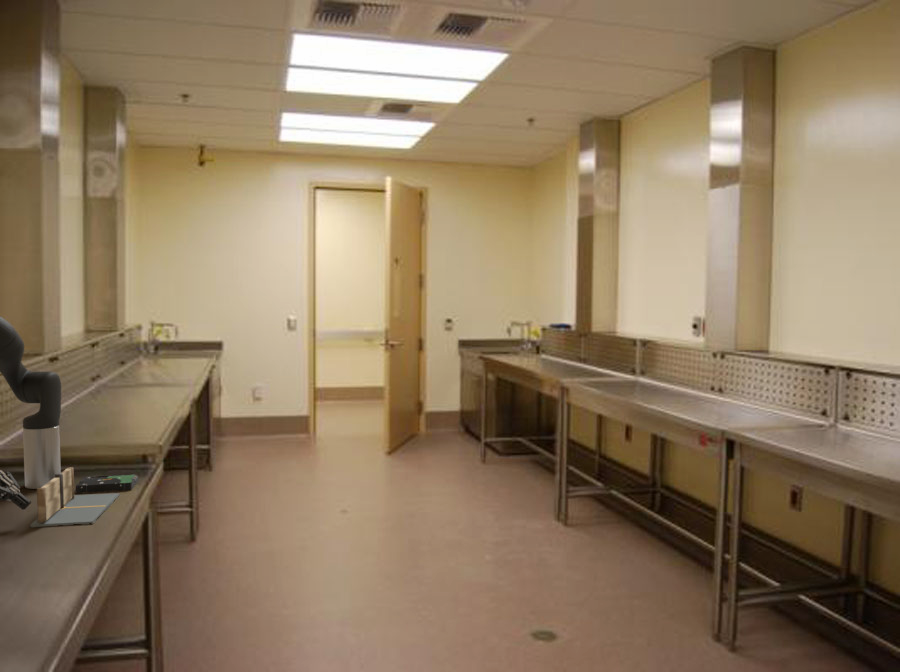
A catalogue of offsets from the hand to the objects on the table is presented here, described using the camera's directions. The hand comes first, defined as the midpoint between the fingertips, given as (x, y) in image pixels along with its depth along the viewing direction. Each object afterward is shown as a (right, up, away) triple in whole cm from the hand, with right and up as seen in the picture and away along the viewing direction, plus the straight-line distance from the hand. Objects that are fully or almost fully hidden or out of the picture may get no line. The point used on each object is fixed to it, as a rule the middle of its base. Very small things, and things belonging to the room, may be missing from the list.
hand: (27, 506), depth 176 cm
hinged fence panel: (+3, -3, +5) cm, 6 cm away
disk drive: (+3, -3, +35) cm, 35 cm away
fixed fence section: (+1, -4, +16) cm, 17 cm away
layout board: (+6, -4, +12) cm, 14 cm away
